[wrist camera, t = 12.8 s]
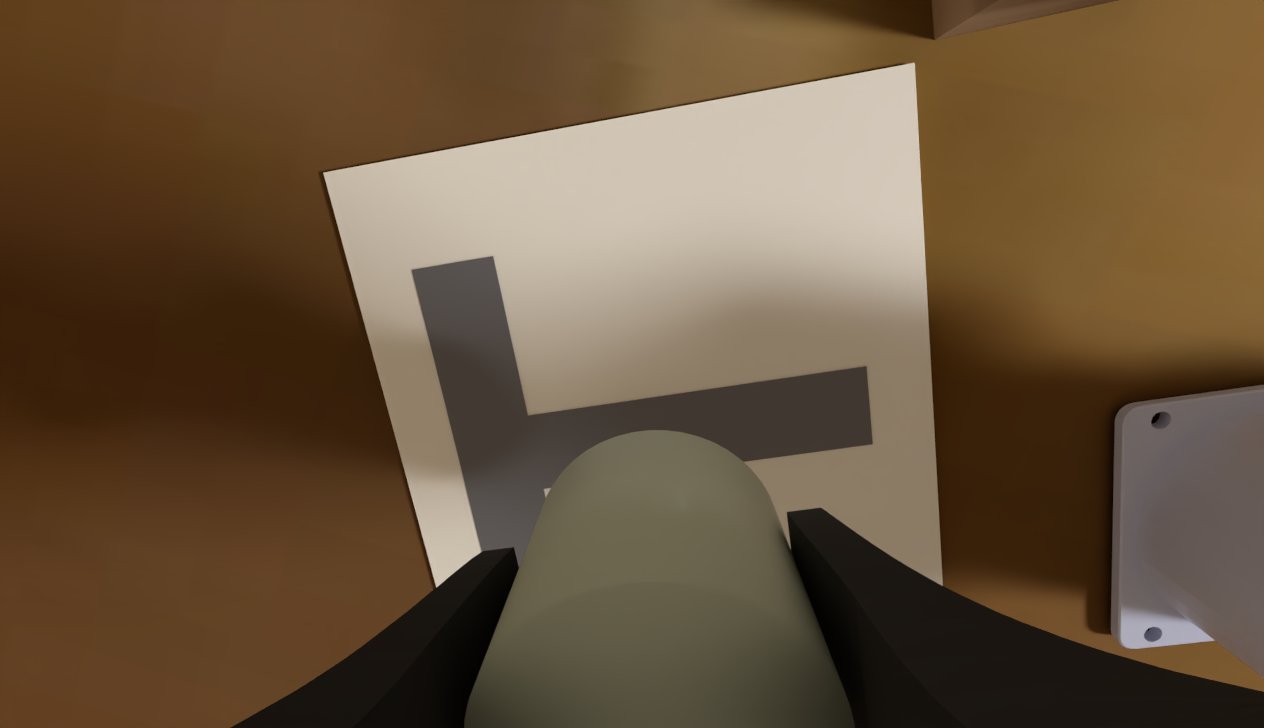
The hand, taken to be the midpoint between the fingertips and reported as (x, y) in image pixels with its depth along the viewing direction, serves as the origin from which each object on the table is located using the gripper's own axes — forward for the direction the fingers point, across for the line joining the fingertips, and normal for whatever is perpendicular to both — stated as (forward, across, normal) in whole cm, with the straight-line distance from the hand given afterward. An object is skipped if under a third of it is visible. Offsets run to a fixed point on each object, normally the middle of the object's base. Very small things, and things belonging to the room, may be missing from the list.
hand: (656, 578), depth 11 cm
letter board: (+8, 0, 0) cm, 8 cm away
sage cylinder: (+1, 0, 0) cm, 1 cm away
